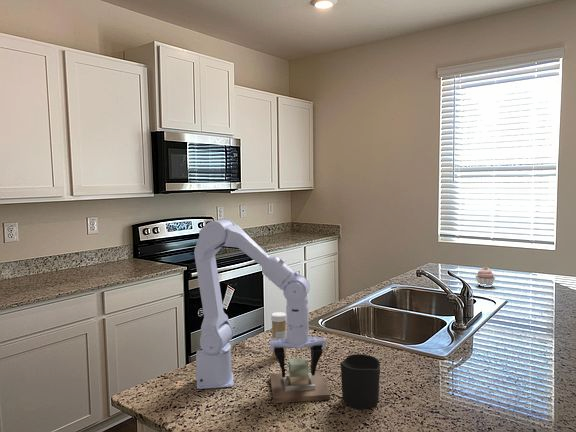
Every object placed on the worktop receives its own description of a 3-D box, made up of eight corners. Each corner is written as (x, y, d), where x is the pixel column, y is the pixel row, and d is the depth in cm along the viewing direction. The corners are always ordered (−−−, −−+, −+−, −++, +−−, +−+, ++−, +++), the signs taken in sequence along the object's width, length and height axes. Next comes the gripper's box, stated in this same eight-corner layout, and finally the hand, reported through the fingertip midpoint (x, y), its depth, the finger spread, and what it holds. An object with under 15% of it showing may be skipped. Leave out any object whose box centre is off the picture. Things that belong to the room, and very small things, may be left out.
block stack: (291, 388, 114) (290, 365, 114) (289, 380, 119) (288, 358, 118) (308, 387, 115) (308, 364, 114) (305, 379, 119) (305, 357, 119)
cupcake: (477, 288, 219) (477, 268, 218) (473, 284, 228) (473, 264, 227) (498, 288, 217) (498, 268, 216) (492, 284, 226) (492, 264, 226)
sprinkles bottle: (271, 354, 141) (270, 311, 140) (286, 353, 141) (285, 311, 140) (272, 359, 136) (271, 316, 135) (287, 358, 136) (286, 315, 135)
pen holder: (387, 407, 106) (387, 366, 106) (350, 414, 104) (350, 372, 103) (369, 390, 115) (368, 352, 115) (335, 395, 113) (334, 356, 112)
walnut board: (274, 403, 109) (273, 394, 109) (270, 378, 123) (269, 370, 123) (330, 399, 111) (330, 390, 111) (320, 375, 125) (320, 367, 125)
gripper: (270, 330, 111) (271, 383, 112) (328, 327, 113) (328, 379, 114) (268, 321, 118) (269, 371, 119) (323, 318, 120) (323, 368, 121)
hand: (298, 374), depth 117 cm, fingers open, 7 cm apart
